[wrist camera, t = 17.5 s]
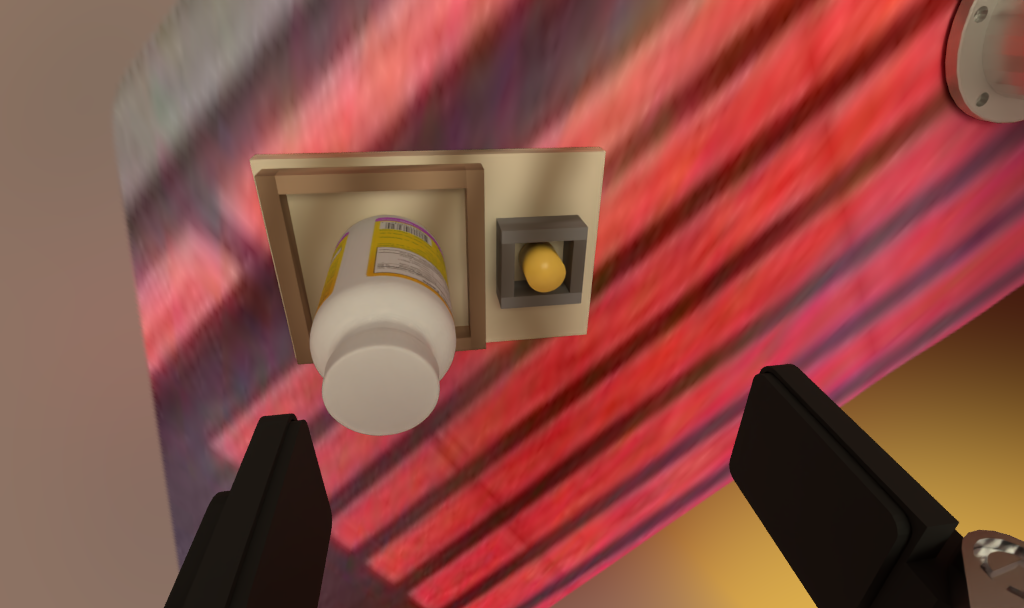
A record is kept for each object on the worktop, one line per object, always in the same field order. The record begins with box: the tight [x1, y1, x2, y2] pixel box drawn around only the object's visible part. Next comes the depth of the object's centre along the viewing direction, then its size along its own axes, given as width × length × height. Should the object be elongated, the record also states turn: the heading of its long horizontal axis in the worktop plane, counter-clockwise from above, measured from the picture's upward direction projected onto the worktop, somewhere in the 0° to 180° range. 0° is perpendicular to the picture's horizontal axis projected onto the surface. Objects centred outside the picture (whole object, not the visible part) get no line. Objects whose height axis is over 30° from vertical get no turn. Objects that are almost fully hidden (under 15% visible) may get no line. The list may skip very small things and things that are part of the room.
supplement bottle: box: [310, 215, 456, 436], centre depth 26 cm, size 7×7×13 cm
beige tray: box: [250, 147, 606, 364], centre depth 32 cm, size 20×13×3 cm, turn 89°
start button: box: [519, 242, 566, 292], centre depth 32 cm, size 2×2×3 cm
